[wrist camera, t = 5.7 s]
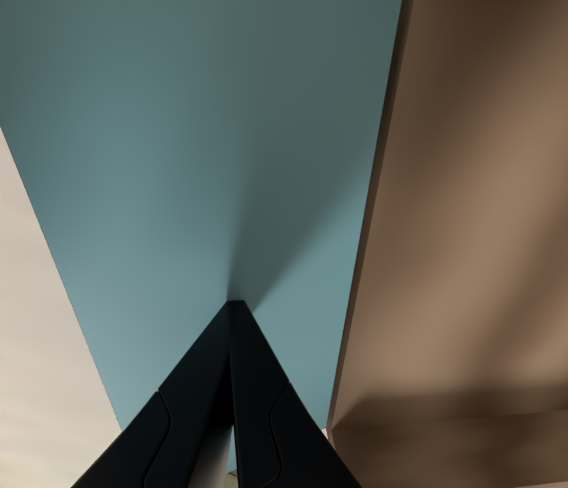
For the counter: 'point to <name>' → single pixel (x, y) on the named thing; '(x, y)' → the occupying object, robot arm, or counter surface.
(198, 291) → the teal flat rectangular block
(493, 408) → the flatbed
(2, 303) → the counter surface
